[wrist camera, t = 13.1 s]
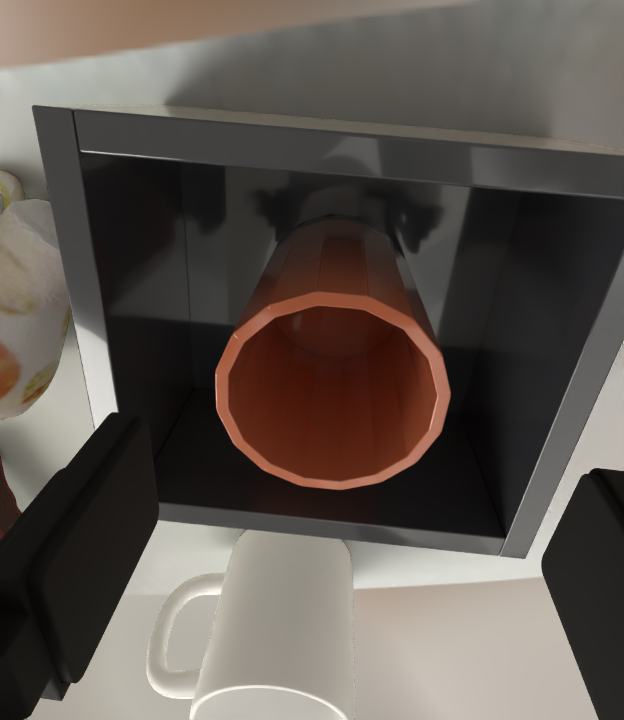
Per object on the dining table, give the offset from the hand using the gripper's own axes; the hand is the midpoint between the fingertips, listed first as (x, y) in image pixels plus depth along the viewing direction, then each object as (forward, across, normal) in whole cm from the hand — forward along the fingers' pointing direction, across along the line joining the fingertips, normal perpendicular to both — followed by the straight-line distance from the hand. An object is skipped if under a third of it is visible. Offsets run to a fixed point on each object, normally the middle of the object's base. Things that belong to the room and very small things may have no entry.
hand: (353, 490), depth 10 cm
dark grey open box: (+14, +1, 0) cm, 14 cm away
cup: (+14, +4, +20) cm, 25 cm away
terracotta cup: (+13, +1, 0) cm, 13 cm away
